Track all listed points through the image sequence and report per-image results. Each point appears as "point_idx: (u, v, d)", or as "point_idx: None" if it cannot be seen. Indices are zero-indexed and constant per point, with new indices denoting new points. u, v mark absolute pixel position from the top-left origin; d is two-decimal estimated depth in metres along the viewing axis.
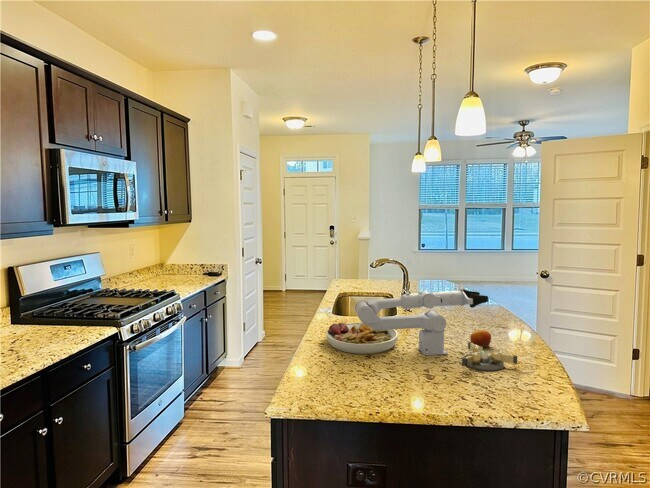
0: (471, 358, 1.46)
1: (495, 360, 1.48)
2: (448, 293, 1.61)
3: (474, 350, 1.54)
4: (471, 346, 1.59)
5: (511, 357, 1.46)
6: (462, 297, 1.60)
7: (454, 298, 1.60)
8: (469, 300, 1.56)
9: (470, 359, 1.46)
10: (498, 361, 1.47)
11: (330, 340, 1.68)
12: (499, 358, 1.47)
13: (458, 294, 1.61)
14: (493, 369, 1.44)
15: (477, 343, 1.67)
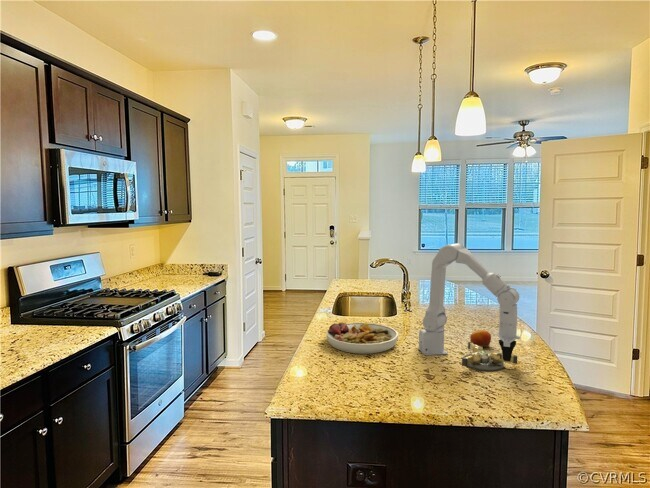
0: (471, 358, 1.46)
1: (495, 360, 1.48)
2: (513, 322, 1.43)
3: (474, 350, 1.54)
4: (471, 346, 1.59)
5: (511, 357, 1.47)
6: (509, 336, 1.43)
7: (509, 327, 1.43)
8: (508, 343, 1.39)
9: (470, 359, 1.46)
10: (498, 361, 1.47)
11: (330, 340, 1.68)
12: (499, 358, 1.47)
13: (513, 332, 1.43)
14: (493, 369, 1.44)
15: (477, 343, 1.67)
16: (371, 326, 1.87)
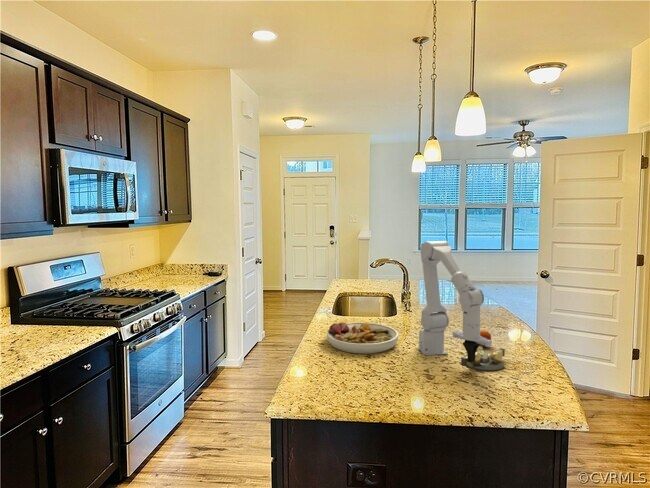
0: None
1: (501, 360, 1.48)
2: (472, 322, 1.42)
3: None
4: None
5: (502, 351, 1.52)
6: (479, 336, 1.43)
7: (479, 327, 1.43)
8: (490, 342, 1.40)
9: None
10: (501, 360, 1.49)
11: (330, 340, 1.68)
12: None
13: None
14: (493, 369, 1.44)
15: None
16: (371, 326, 1.87)
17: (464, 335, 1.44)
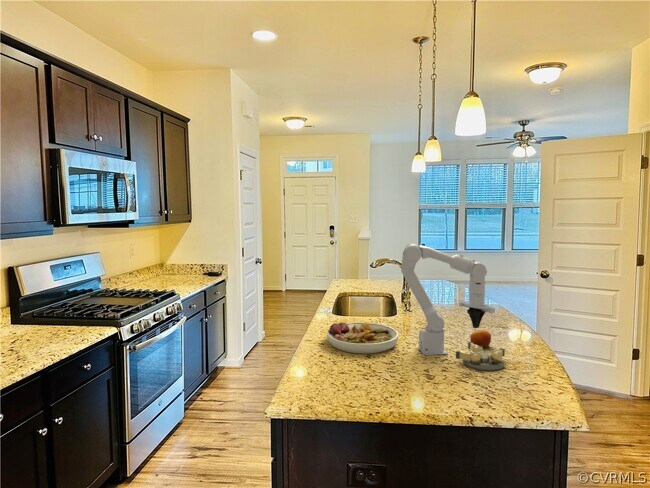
0: (466, 354, 1.50)
1: (501, 360, 1.48)
2: (484, 291, 1.58)
3: (474, 350, 1.54)
4: (471, 346, 1.59)
5: (502, 351, 1.52)
6: (484, 304, 1.58)
7: (483, 296, 1.58)
8: (494, 309, 1.54)
9: (464, 354, 1.50)
10: (501, 360, 1.49)
11: (330, 340, 1.69)
12: None
13: None
14: (493, 369, 1.44)
15: (477, 343, 1.67)
16: (372, 326, 1.87)
17: (470, 303, 1.59)
